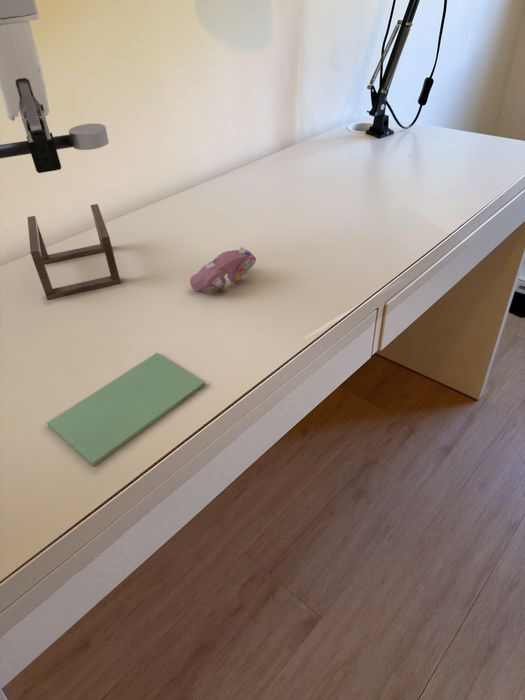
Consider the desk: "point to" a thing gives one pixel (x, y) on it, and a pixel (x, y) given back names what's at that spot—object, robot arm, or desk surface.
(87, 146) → the grey saucepan
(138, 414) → the mat
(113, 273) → the rack
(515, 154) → the desk surface
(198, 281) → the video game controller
